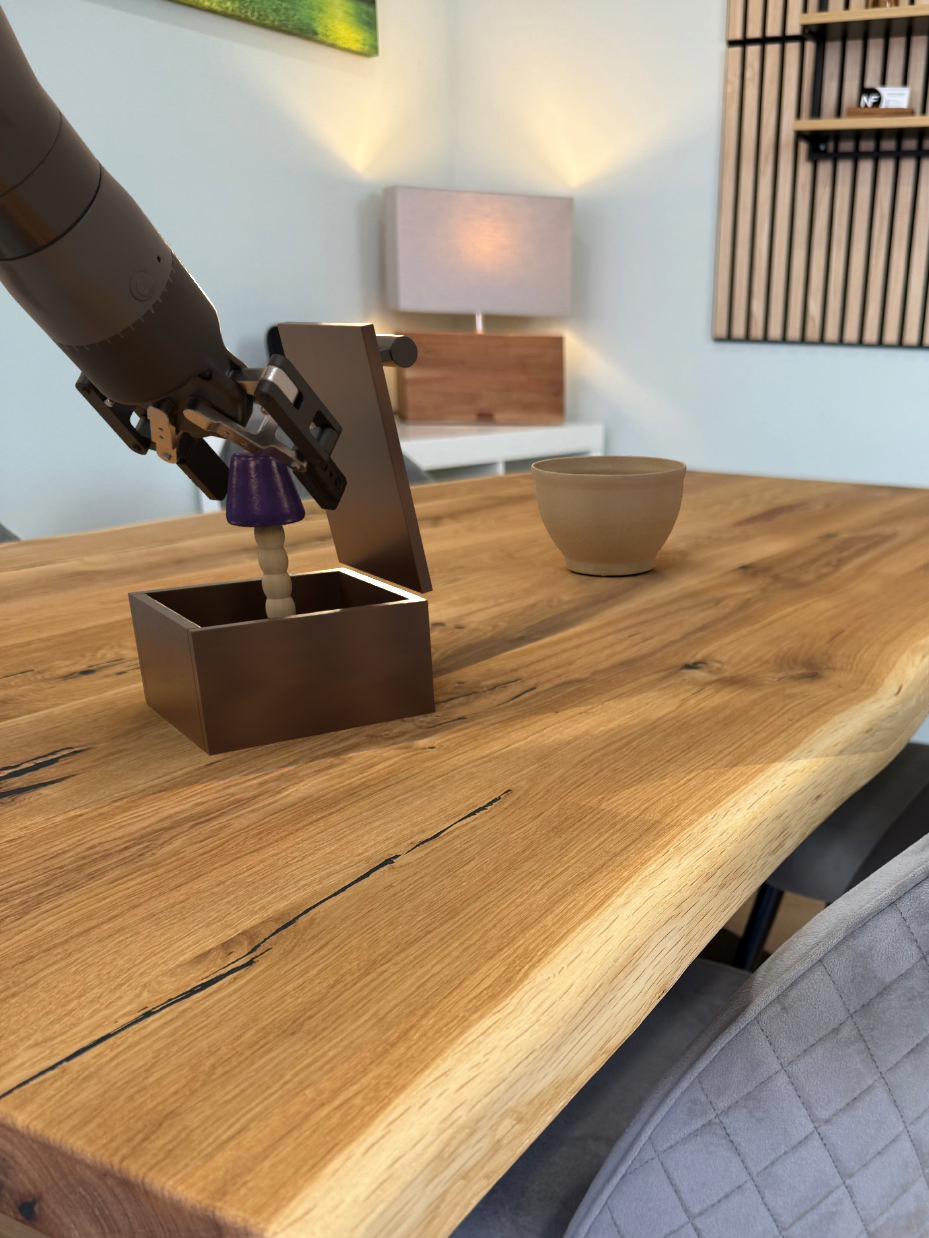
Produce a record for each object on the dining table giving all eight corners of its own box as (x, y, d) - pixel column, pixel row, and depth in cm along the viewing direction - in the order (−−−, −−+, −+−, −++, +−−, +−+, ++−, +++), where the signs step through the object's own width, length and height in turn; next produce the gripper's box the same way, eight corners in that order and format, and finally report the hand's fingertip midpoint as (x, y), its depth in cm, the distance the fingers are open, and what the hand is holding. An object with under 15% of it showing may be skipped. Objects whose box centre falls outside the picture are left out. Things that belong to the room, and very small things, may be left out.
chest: (213, 780, 71) (191, 632, 67) (149, 726, 80) (127, 592, 76) (437, 735, 78) (428, 599, 75) (355, 690, 88) (344, 567, 84)
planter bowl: (519, 559, 135) (515, 457, 130) (656, 552, 139) (657, 453, 135) (555, 588, 121) (552, 475, 116) (705, 579, 125) (708, 470, 121)
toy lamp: (291, 735, 76) (258, 456, 69) (237, 723, 78) (200, 452, 71) (343, 715, 79) (317, 449, 73) (291, 705, 82) (260, 445, 75)
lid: (360, 326, 67) (439, 310, 69) (276, 323, 76) (348, 309, 78) (422, 594, 74) (491, 571, 77) (338, 562, 84) (402, 543, 86)
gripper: (246, 224, 58) (398, 451, 73) (30, 228, 64) (212, 439, 78) (183, 344, 56) (353, 554, 70) (-36, 338, 61) (164, 535, 76)
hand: (278, 493), depth 74 cm, fingers open, 8 cm apart
